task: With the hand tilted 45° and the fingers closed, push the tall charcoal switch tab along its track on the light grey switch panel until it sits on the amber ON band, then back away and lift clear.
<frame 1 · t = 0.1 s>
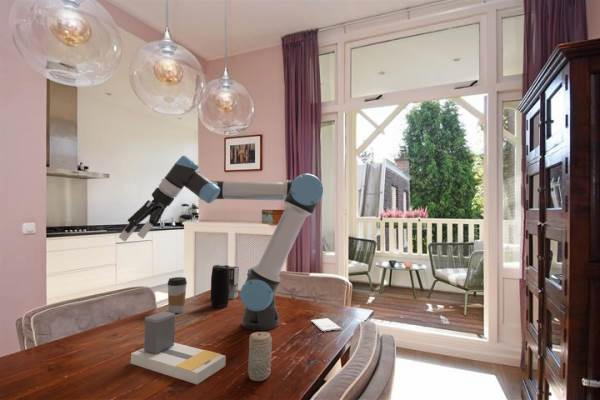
hand: (131, 237, 122), 36 cm above the table, tool tilted 35°, fingers open, 13 cm apart
switch panel: (178, 364, 99), on the table
carving: (259, 377, 92), on the table
external hard drive: (325, 328, 135), on the table
coffee cup: (176, 312, 149), on the table
switch tab: (159, 331, 102), point 8 cm above the table, slide at -8.0 cm
coffee box: (228, 297, 177), on the table
portable speaker: (219, 306, 159), on the table
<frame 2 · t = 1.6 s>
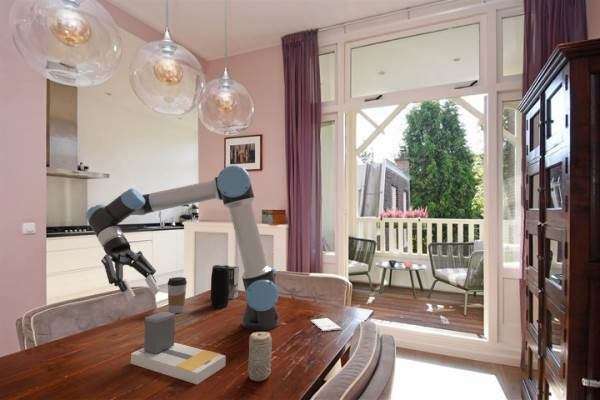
hand: (145, 295, 106), 19 cm above the table, tool tilted 45°, fingers open, 9 cm apart
nothing on the table moved.
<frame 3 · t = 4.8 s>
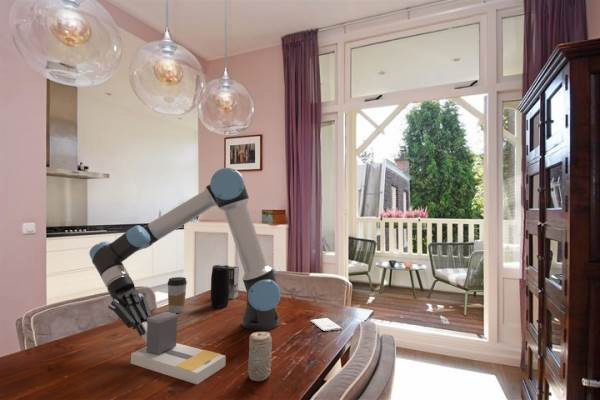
hand: (151, 341, 103), 5 cm above the table, tool tilted 45°, fingers closed
switch tab: (162, 332, 102), point 8 cm above the table, slide at -7.0 cm, touching gripper
everything else where it was.
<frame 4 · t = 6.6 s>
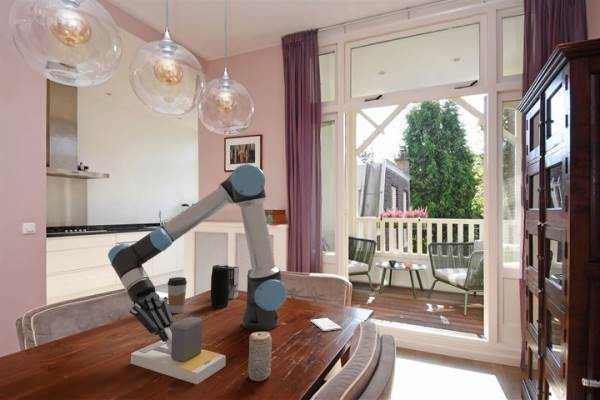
hand: (174, 348, 98), 5 cm above the table, tool tilted 45°, fingers closed
switch tab: (187, 338, 97), point 8 cm above the table, slide at 3.2 cm, touching gripper
everything else where it was.
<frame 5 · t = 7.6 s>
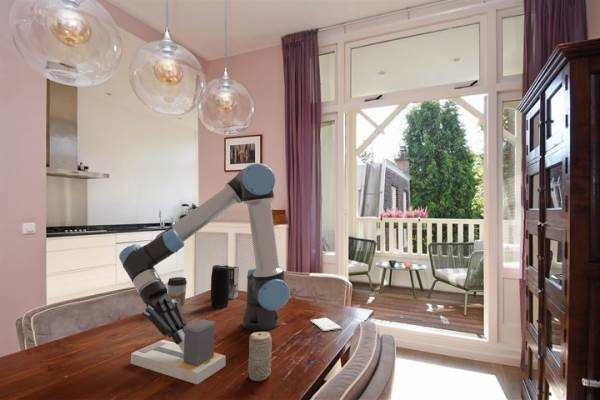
hand: (188, 351, 96), 5 cm above the table, tool tilted 45°, fingers closed
switch tab: (199, 341, 95), point 8 cm above the table, slide at 8.1 cm, touching gripper
everything else where it was.
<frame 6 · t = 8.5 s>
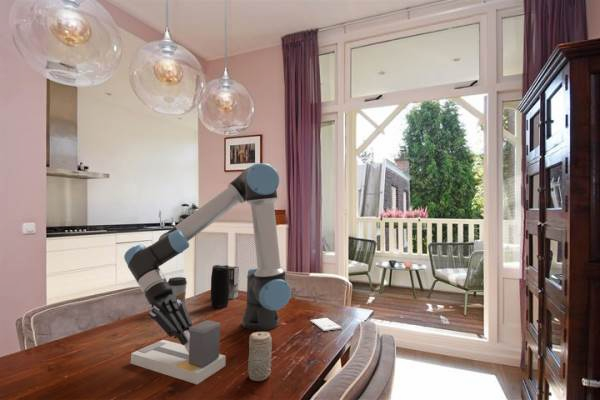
hand: (194, 351, 96), 5 cm above the table, tool tilted 45°, fingers closed
switch tab: (204, 342, 95), point 8 cm above the table, slide at 10.0 cm, touching gripper
everything else where it was.
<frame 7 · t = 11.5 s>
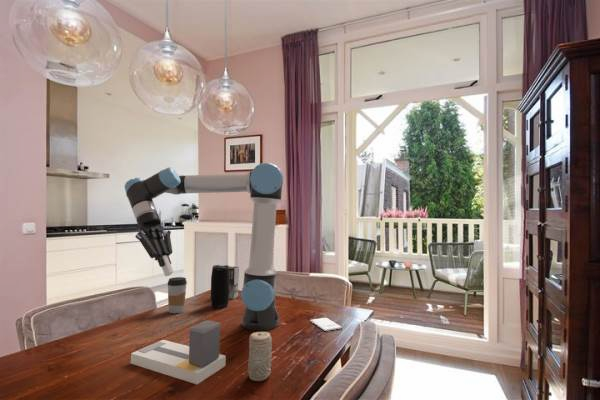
hand: (169, 274, 111), 25 cm above the table, tool tilted 35°, fingers closed
switch tab: (204, 342, 95), point 8 cm above the table, slide at 10.0 cm
everything else where it was.
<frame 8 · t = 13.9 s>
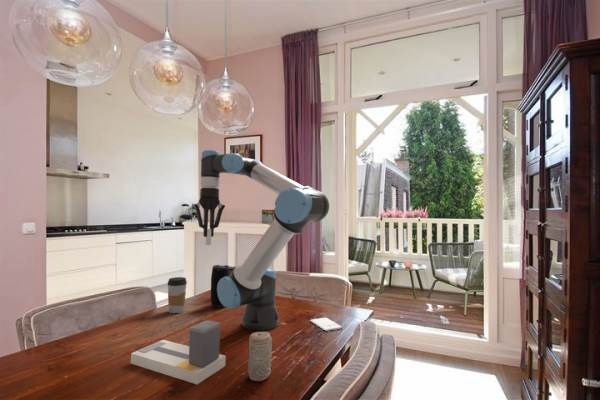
hand: (208, 244, 135), 32 cm above the table, tool pointing down, fingers closed
nothing on the table moved.
at the end: switch tab slide at 10.0 cm; portable speaker moved 0.2 cm from its start; coffee cup moved 0.2 cm from its start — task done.
